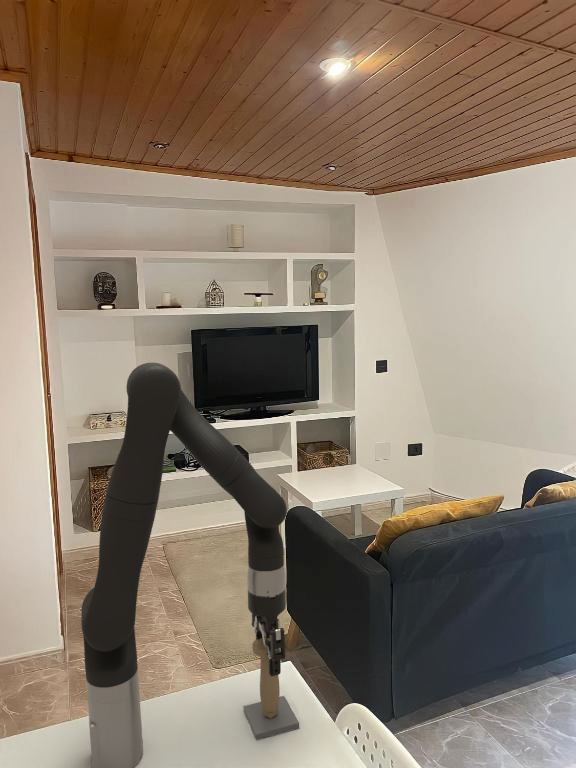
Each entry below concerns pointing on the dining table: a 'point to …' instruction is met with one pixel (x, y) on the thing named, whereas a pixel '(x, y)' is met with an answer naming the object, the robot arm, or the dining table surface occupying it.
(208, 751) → the dining table surface
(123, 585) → the robot arm
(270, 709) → the handle
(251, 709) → the plate
